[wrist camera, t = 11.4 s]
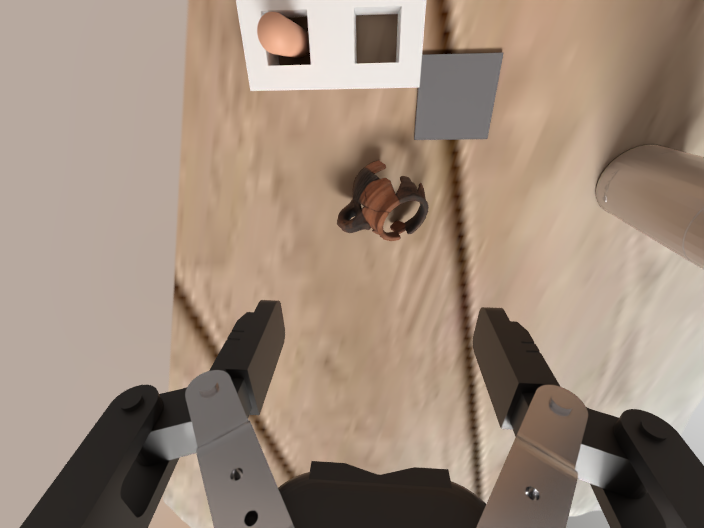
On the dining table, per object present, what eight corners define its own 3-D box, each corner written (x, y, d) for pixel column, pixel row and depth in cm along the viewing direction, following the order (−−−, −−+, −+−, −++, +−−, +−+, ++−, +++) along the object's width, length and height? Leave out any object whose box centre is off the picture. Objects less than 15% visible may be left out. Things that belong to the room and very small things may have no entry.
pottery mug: (395, 141, 42) (428, 175, 37) (410, 190, 49) (439, 224, 44) (316, 189, 42) (338, 229, 37) (343, 230, 50) (364, 268, 45)
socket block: (421, -15, 33) (428, -27, 29) (414, 85, 38) (419, 87, 33) (250, -8, 34) (232, -19, 30) (264, 88, 39) (250, 90, 34)
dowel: (309, 25, 35) (289, 11, 27) (311, 57, 37) (293, 53, 28) (282, 26, 35) (254, 12, 27) (285, 58, 37) (260, 54, 28)
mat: (502, 52, 36) (503, 52, 35) (486, 138, 40) (487, 138, 40) (420, 55, 36) (421, 54, 36) (414, 139, 41) (414, 139, 40)
